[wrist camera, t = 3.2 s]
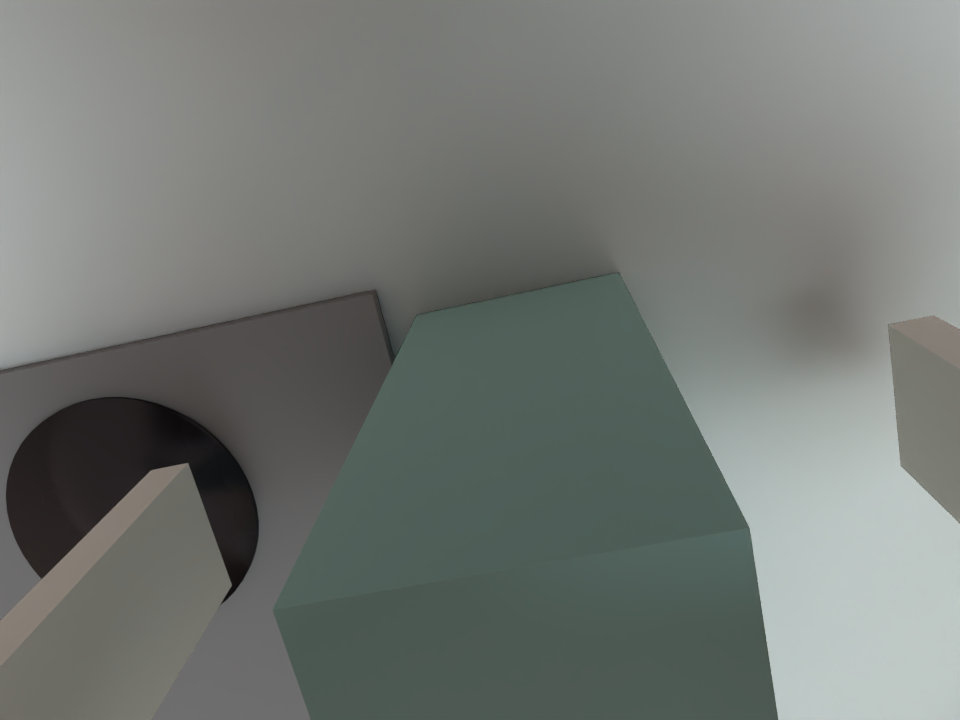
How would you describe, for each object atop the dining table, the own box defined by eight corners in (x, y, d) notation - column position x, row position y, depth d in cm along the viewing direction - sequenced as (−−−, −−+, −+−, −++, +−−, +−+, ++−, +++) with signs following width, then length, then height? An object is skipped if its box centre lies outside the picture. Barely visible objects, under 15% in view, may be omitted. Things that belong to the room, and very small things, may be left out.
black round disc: (-19, 417, 20) (-35, 427, 19) (218, 367, 19) (209, 376, 18) (74, 629, 21) (61, 644, 21) (294, 591, 21) (287, 605, 20)
